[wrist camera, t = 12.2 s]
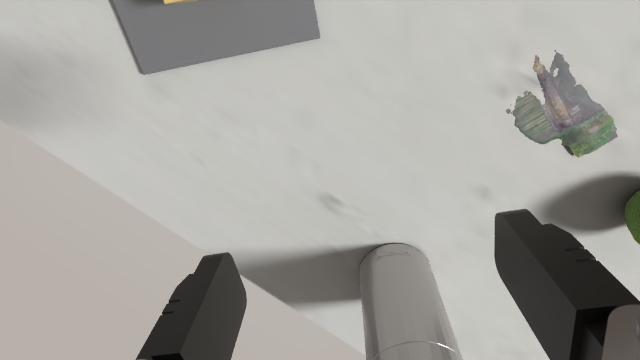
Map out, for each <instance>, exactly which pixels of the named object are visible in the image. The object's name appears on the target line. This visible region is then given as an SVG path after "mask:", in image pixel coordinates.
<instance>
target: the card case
mask: <svg viewBox="0 0 640 360" xmlns="http://www.w3.org/2000/svg"><path fill="white" fill-rule="evenodd" d="M192 1H197V0H164V3H165V4H172V3H187V2H192Z"/></svg>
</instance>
